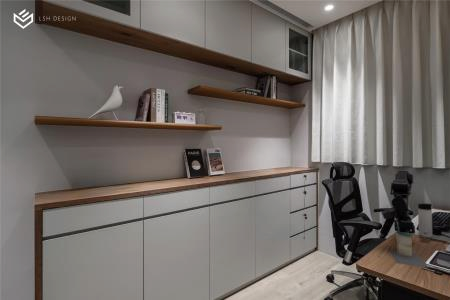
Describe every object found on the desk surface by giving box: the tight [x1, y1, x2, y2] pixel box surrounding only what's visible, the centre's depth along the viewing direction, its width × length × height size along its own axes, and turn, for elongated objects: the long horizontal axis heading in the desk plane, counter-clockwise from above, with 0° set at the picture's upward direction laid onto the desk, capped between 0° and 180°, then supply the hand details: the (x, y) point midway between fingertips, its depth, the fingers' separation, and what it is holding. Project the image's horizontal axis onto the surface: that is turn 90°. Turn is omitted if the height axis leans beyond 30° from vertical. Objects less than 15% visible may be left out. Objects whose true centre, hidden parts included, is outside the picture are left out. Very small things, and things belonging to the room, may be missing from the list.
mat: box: [388, 249, 430, 269], centre depth 115 cm, size 16×12×1 cm
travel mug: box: [417, 203, 433, 239], centre depth 144 cm, size 6×7×20 cm
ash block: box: [396, 231, 413, 257], centre depth 120 cm, size 5×5×10 cm
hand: (401, 235), depth 124 cm, fingers closed
